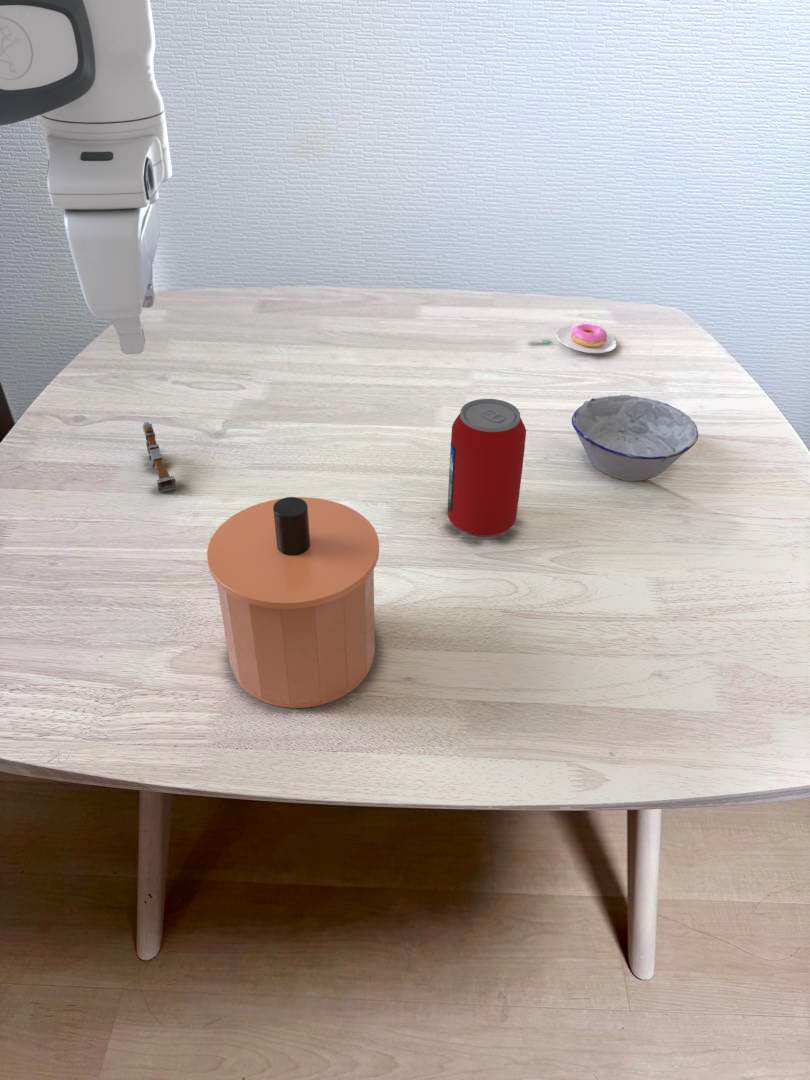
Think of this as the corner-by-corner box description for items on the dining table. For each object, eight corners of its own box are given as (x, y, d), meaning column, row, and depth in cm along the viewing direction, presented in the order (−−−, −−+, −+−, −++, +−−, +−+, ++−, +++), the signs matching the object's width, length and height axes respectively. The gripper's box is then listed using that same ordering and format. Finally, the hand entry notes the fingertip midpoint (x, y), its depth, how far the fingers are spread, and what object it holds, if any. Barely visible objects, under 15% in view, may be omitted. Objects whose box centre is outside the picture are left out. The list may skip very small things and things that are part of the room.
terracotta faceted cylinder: (229, 715, 63) (211, 611, 57) (233, 612, 72) (217, 512, 66) (381, 700, 64) (380, 597, 58) (366, 601, 73) (364, 502, 67)
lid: (204, 623, 57) (194, 569, 54) (212, 514, 66) (204, 464, 63) (388, 608, 58) (388, 554, 55) (370, 504, 68) (369, 454, 65)
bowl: (549, 472, 90) (555, 433, 87) (589, 420, 99) (595, 383, 96) (670, 508, 85) (681, 467, 82) (701, 450, 94) (711, 411, 91)
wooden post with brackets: (156, 441, 92) (153, 415, 88) (177, 501, 89) (175, 477, 85) (139, 445, 91) (136, 419, 88) (159, 505, 88) (157, 481, 84)
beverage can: (478, 493, 87) (486, 387, 79) (530, 521, 83) (543, 413, 75) (432, 520, 83) (436, 411, 75) (484, 551, 79) (494, 440, 72)
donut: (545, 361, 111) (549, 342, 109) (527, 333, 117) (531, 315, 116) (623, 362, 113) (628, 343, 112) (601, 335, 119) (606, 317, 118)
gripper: (86, 122, 72) (115, 282, 80) (41, 191, 56) (84, 382, 64) (163, 122, 72) (184, 280, 81) (140, 190, 56) (169, 378, 65)
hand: (139, 326), depth 72 cm, fingers open, 8 cm apart
